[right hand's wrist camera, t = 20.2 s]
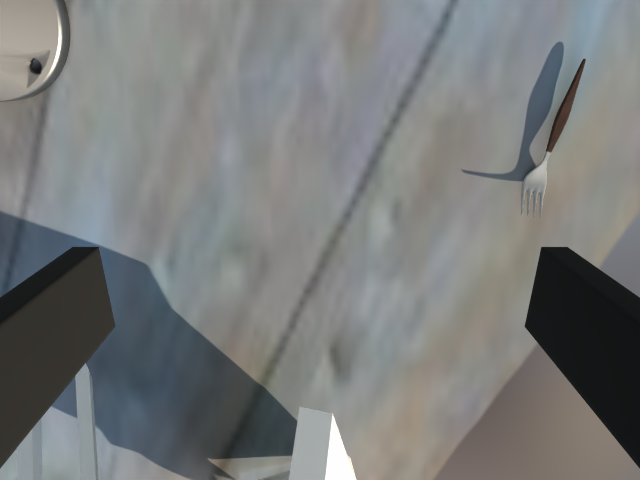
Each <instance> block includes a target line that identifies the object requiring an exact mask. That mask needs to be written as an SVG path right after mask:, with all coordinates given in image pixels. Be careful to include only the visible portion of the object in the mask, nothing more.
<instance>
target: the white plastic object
mask: <svg viewBox="0 0 640 480" xmlns="http://www.w3.org/2000/svg"><path fill="white" fill-rule="evenodd" d="M75 379H76V399H77V419H78V438H79V458H80V478H81V480H99V477H98V461H97V446H96V431H95V415H94V400H93V385H92V377H91V374H90V372H89V369H88V367H87V365H86V363H85V364H84V366H83V367H82V368H81V369H80V371H79V372H78V373H77V374H76V376H75ZM17 480H42V434H41V419H40V420H39V421H38V422H37V424H36V425H35V426H34V427H33V429H32V430H31V431H30V432H29V434H28V435H27V436H26V437H25V438H24V440H23V441H22V442H21V443H20V445H19V446H18V447H17ZM258 480H356V477H355V473H354V470H353V466H352V462H351V459H350V457H349V456H348V455H347V454H346V451H345V448H344V446H343V443H342V440H341V437H340V434H339V431H338V428H337V425H336V422H335V419H334V416H333V414H332V413H328V412H323V411H318V410H313V409H308V408H304V407H300V409H299V415H298V422H297V428H296V435H295V442H294V448H293V455H292V462H291V468H290V470H288V471H284V472H281V473H278V474H274V475H271V476H268V477H264V478H261V479H258Z"/></svg>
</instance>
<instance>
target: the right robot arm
mask: <svg viewBox="0 0 640 480" xmlns="http://www.w3.org/2000/svg"><path fill="white" fill-rule="evenodd" d="M69 46H70V24H69V17H68V12H67V8H66V5H65V2H64V0H0V102H2V101H13V100H21V99H26V98H29V97H32V96H35V95H37V94H39V93H41V92H42V91H44V90H45V89H47V88H48V87H49V86H50V85H51V84H52V83H53V82H54V81H55V80H56V79H57V77H58V76H59V74H60V73H61V71H62V69H63V67H64V65H65V62H66V59H67V56H68V52H69ZM114 327H115V323H114V318H113V313H112V309H111V304H110V299H109V294H108V290H107V285H106V280H105V276H104V271H103V266H102V261H101V257H100V252H99V247H72V248H71V249H69V250H68V251H66V252H65V253H63V254H62V255H61V256H59V257H58V258H56V259H55V260H53V261H52V262H51V263H49V264H48V265H46V266H45V267H43V268H42V269H41V270H39V271H38V272H36V273H35V274H33V275H32V276H31V277H29V278H28V279H26V280H25V281H23V282H22V283H21V284H19V285H18V286H16V287H15V288H13V289H12V290H11V291H9V292H8V293H6V294H5V295H3V296H2V297H1V298H0V468H1V467H2V466H3V464H4V463H5V462H6V461H7V459H8V458H9V457H10V456H11V454H12V453H13V452H14V451H15V450H16V448H17V447H18V446H19V445H20V443H21V442H22V441H23V440H24V438H25V437H26V436H27V435H28V434H29V432H30V431H31V430H32V429H33V427H34V426H35V425H36V424H37V422H38V421H39V420H40V419H41V417H42V416H43V415H44V414H45V413H46V411H47V410H48V409H49V408H50V406H51V405H52V404H53V403H54V401H55V400H56V399H57V398H58V397H59V395H60V394H61V393H62V392H63V390H64V389H65V388H66V387H67V385H68V384H69V383H70V382H71V380H72V379H73V378H74V377H75V376H76V374H77V373H78V372H79V371H80V369H81V368H82V367H83V366H84V364H85V363H86V362H87V361H88V360H89V358H90V357H91V356H92V355H93V353H94V352H95V351H96V350H97V348H98V347H99V346H100V345H101V343H102V342H103V341H104V340H105V339H106V337H107V336H108V335H109V334H110V332H111V331H112V330H113V329H114ZM525 327H526V329H527V330H528V331H529V332H530V334H531V335H532V336H533V337H534V339H535V340H536V341H537V342H538V343H539V345H540V346H541V347H542V348H543V350H544V351H545V352H546V353H547V355H548V356H549V357H550V358H551V359H552V361H553V362H554V363H555V364H556V366H557V367H558V368H559V369H560V371H561V372H562V373H563V374H564V376H565V377H566V378H567V379H568V380H569V382H570V383H571V384H572V385H573V387H574V388H575V389H576V390H577V392H578V393H579V394H580V395H581V397H582V398H583V399H584V400H585V401H586V403H587V404H588V405H589V406H590V408H591V409H592V410H593V411H594V413H595V414H596V415H597V416H598V417H599V419H600V420H601V421H602V422H603V424H604V425H605V426H606V427H607V428H608V430H609V431H610V432H611V433H612V435H613V436H614V437H615V438H616V440H617V441H618V442H619V443H620V445H621V446H622V447H623V448H624V450H625V451H626V452H627V453H628V454H629V456H630V457H631V458H632V459H633V461H634V462H635V463H636V464H637V466H638V467H639V468H640V298H639V297H638V296H637V295H635V294H634V293H632V292H631V291H629V290H628V289H627V288H625V287H624V286H622V285H621V284H619V283H618V282H617V281H615V280H614V279H612V278H611V277H609V276H608V275H606V274H605V273H604V272H602V271H601V270H599V269H598V268H597V267H595V266H594V265H592V264H591V263H589V262H588V261H587V260H585V259H584V258H582V257H581V256H579V255H578V254H577V253H575V252H574V251H572V250H571V249H569V248H568V247H541V252H540V257H539V261H538V266H537V271H536V276H535V280H534V285H533V290H532V294H531V299H530V304H529V309H528V313H527V318H526V323H525Z"/></svg>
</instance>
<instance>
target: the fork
mask: <svg viewBox="0 0 640 480" xmlns="http://www.w3.org/2000/svg"><path fill="white" fill-rule="evenodd" d="M585 60H586V59H583V61H582V62H581V64H580V66H579V68H578V71H577V73H576V75H575V77H574V79H573V81H572V83H571V86H570V88H569V90H568V92H567V94H566V96H565V98H564V100H563V102H562V104H561V106H560V108H559V110H558V113H557V115H556V117H555V120H554V123H553V127H552V130H551V134H550V138H549V142H548V145H547V149H546V153H545V156H544V159H543V161H542V162H541V163H540V164H539V165H538V166H537V167H536V168H534V169H533V170H532V171H531V172H529V173H528V174H527V175H526V177H525V178H524V180H523V184H522V195H521V215H522V213H523V204H524V196H525V192H526V191H527V192H528V199H527V216H529V206H530V199H531V194H532V192H533V193H534V209H533V215H534V217H535V209H536V201H537V195H538V193H539V194H540V219H541V212H542V204H543V197H544V192H545V188H546V182H547V173H546V164H547V160H548V158H549V156H550V154H551V152H552V150H553V148H554V146H555V144H556V142H557V140H558V138H559V136H560V134H561V132H562V130H563V128H564V126H565V124H566V122H567V120H568V117H569V114H570V111H571V108H572V104H573V101H574V97H575V94H576V90H577V87H578V84H579V81H580V78H581V75H582V71H583V68H584V64H585Z"/></svg>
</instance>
